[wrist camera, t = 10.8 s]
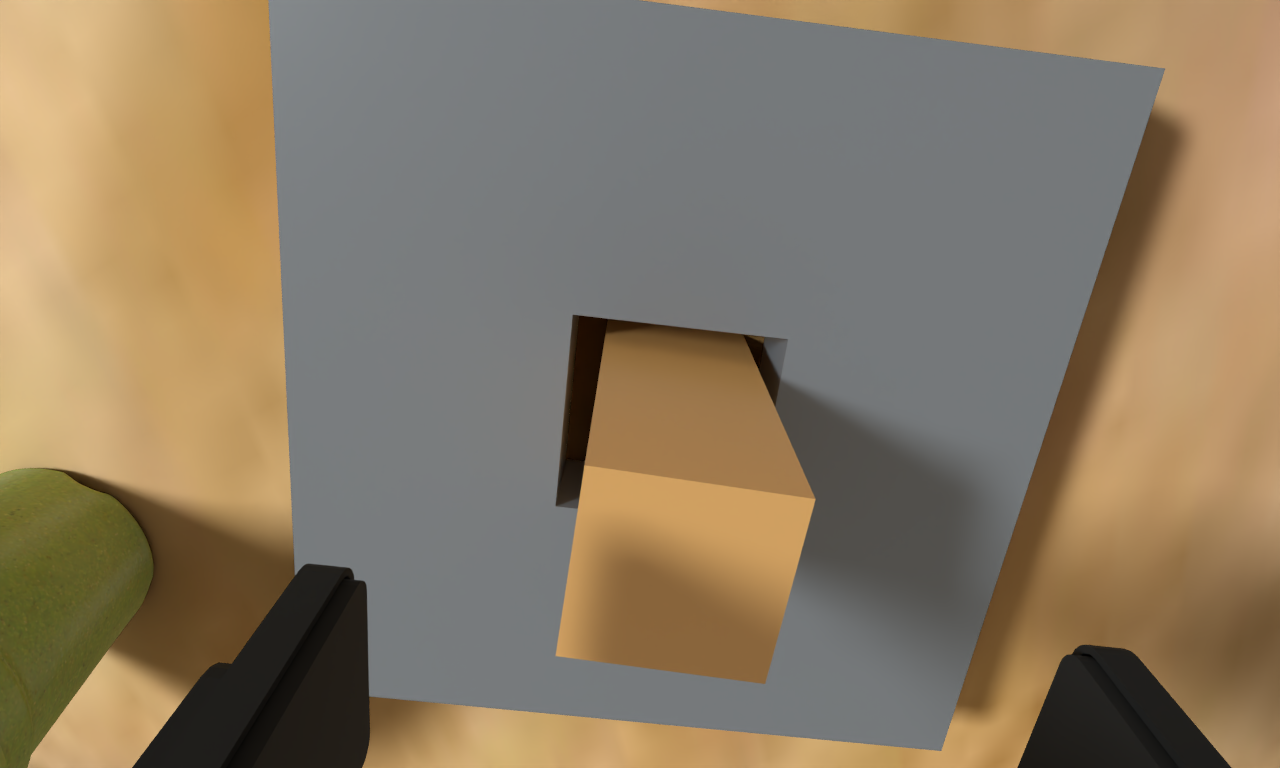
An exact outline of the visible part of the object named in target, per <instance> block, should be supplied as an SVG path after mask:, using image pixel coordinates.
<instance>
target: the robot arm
mask: <svg viewBox="0 0 1280 768" xmlns="http://www.w3.org/2000/svg"><path fill="white" fill-rule="evenodd" d="M369 738H370V716H369V666H368V615H367V586H366V583H365V581H361V580H354V574H353V571H352V569H350V568H347V567H337V566H328V565H318V564H309V563H308V564H305V565H304V566H303V567H302V568H301V569H300V570H299V571H298V573H297V574H296V575H295V577H294V578H293V580H292V581H291V582H290V584H289V585H288V586H287V588H286V589H285V591H284V592H283V593H282V595H281V596H280V598H279V599H278V600H277V602H276V603H275V605H274V606H273V607H272V609H271V610H270V612H269V613H268V614H267V616H266V617H265V618H264V620H263V621H262V623H261V624H260V625H259V627H258V628H257V630H256V631H255V632H254V634H253V635H252V637H251V638H250V639H249V641H248V642H247V643H246V645H245V646H244V648H243V649H242V650H241V652H240V653H239V655H238V656H237V657H236V659H235V660H234V662H233V663H232V664H228V663H217V664H215V665H213V666H211V667H210V668H209V669H208V670H207V671H206V672H205V673H204V674H203V675H202V676H201V677H200V679H199V680H198V681H197V683H196V684H195V685H194V687H193V688H192V689H191V691H190V692H189V693H188V695H187V696H186V697H185V699H184V700H183V701H182V702H181V704H180V705H179V706H178V708H177V709H176V710H175V712H174V713H173V714H172V716H171V717H170V718H169V720H168V721H167V722H166V724H165V725H164V726H163V728H162V729H161V730H160V732H159V733H158V734H157V736H156V737H155V738H154V740H153V741H152V742H151V743H150V745H149V746H148V747H147V749H146V750H145V751H144V753H143V754H142V755H141V757H140V758H139V759H138V761H137V762H136V763H135V765H134V766H133V767H132V768H362V767H363V764H364V761H365V758H366V754H367V750H368V746H369ZM1018 768H1231V767H1230V765H1229V764H1228V763H1227V762H1226V761H1225V760H1224V758H1223V757H1222V756H1221V755H1220V754H1219V752H1218V751H1217V750H1216V749H1215V748H1214V747H1213V745H1212V744H1211V743H1210V742H1209V741H1208V739H1207V738H1206V737H1205V736H1204V735H1203V734H1202V732H1201V731H1200V730H1199V729H1198V728H1197V726H1196V725H1195V724H1194V723H1193V722H1192V721H1191V719H1190V718H1189V717H1188V716H1187V715H1186V713H1185V712H1184V711H1183V710H1182V709H1181V708H1180V706H1179V705H1178V704H1177V703H1176V702H1175V701H1174V699H1173V698H1172V697H1171V696H1170V695H1169V693H1168V692H1167V691H1166V690H1165V689H1164V688H1163V686H1162V685H1161V684H1160V683H1159V682H1158V680H1157V679H1156V678H1155V677H1154V676H1153V675H1152V673H1151V672H1150V671H1149V670H1148V669H1147V667H1146V666H1145V665H1144V664H1143V663H1142V662H1141V660H1140V659H1139V658H1138V657H1137V656H1136V655H1135V654H1134V653H1133V652H1131V651H1129V650H1126V649H1121V648H1112V647H1102V646H1093V645H1081V646H1079V647H1078V648H1076V649H1075V650H1074V652H1073V654H1071V655H1066V656H1065V657H1064V658H1063V659H1062V661H1061V662H1060V665H1059V667H1058V670H1057V672H1056V675H1055V677H1054V680H1053V682H1052V684H1051V687H1050V689H1049V692H1048V694H1047V697H1046V699H1045V702H1044V704H1043V707H1042V709H1041V711H1040V714H1039V716H1038V719H1037V721H1036V724H1035V726H1034V729H1033V731H1032V734H1031V736H1030V738H1029V741H1028V743H1027V746H1026V748H1025V751H1024V753H1023V756H1022V758H1021V761H1020V763H1019V766H1018Z"/></svg>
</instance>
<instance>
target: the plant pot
mask: <svg viewBox="0 0 1280 768" xmlns="http://www.w3.org/2000/svg"><path fill="white" fill-rule="evenodd" d="M153 571H154V568H153V559H152V554H151V550H150V547H149V544H148V542H147V539H146V537H145V535H144V533H143V531H142V529H141V528H140V526H139V525H138V523H137V522H136V520H135V519H134V518H133V516H132V515H131V514H130V513H129V512H128V510H127V509H126V508H125V507H124V506H123V505H122V504H121V503H120V502H119V501H117V500H116V499H115V498H114V497H112V496H111V495H108V494H106V493H101V492H98V491H96V490H93V489H90V488H88V487H86V486H84V485H81V484H79V483H78V482H76V481H75V480H73V479H72V478H71V477H69V476H68V475H67V474H66V473H63V472H60V471H55V470H50V469H40V468H27V469H16V470H12V471H8V472H4V473H2V474H0V768H27V767H28V764H29V761H30V757H31V754H32V753H33V752H34V750H35V749H36V747H37V746H38V745H39V743H40V742H41V741H42V739H43V738H44V737H45V735H46V734H47V732H48V731H49V730H50V728H51V727H52V726H53V724H54V723H55V722H56V720H57V719H58V717H59V716H60V715H61V713H62V712H63V711H64V709H65V708H66V707H67V705H68V704H69V702H70V701H71V700H72V698H73V697H74V696H75V694H76V693H77V692H78V690H79V689H80V687H81V686H82V685H83V683H84V682H85V681H86V679H87V678H88V677H89V675H90V674H91V672H92V671H93V670H94V668H95V667H96V666H97V664H98V663H99V662H100V660H101V659H102V657H103V656H104V655H105V653H106V652H107V651H108V649H109V648H110V647H111V645H112V644H113V642H114V641H115V640H116V638H117V637H118V636H119V634H120V633H121V632H122V631H123V629H124V628H125V627H126V625H127V624H128V623H129V621H130V620H131V619H132V617H133V616H134V615H135V613H136V612H137V611H138V610H139V608H140V607H141V605H142V603H143V601H144V599H145V596H146V594H147V591H148V589H149V586H150V583H151V580H152V577H153Z"/></svg>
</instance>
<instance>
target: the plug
mask: <svg viewBox="0 0 1280 768" xmlns="http://www.w3.org/2000/svg"><path fill="white" fill-rule="evenodd" d="M815 500H816V499H815V497H814V494H813V492H812V490H811V488H810V485H809V483H808V481H807V479H806V476H805V474H804V472H803V469H802V467H801V465H800V463H799V460H798V458H797V456H796V454H795V451H794V449H793V447H792V445H791V442H790V440H789V438H788V435H787V433H786V431H785V429H784V426H783V424H782V422H781V420H780V417H779V415H778V413H777V411H776V408H775V406H774V404H773V401H772V399H771V397H770V395H769V392H768V390H767V388H766V386H765V383H764V381H763V379H762V377H761V374H760V372H759V370H758V367H757V365H756V363H755V361H754V358H753V356H752V354H751V352H750V349H749V347H748V345H747V343H746V340H745V338H744V336H743V334H737V333H729V332H720V331H711V330H703V329H694V328H685V327H676V326H668V325H659V324H650V323H642V322H633V321H624V320H615V319H608V322H607V328H606V335H605V341H604V347H603V353H602V360H601V366H600V372H599V378H598V384H597V391H596V397H595V403H594V409H593V416H592V422H591V428H590V434H589V441H588V447H587V453H586V459H585V465H584V472H583V479H582V485H581V492H580V498H579V505H578V512H577V518H576V525H575V531H574V538H573V544H572V551H571V558H570V564H569V571H568V577H567V584H566V590H565V597H564V604H563V610H562V617H561V623H560V630H559V637H558V643H557V650H556V656H559V657H566V658H574V659H581V660H589V661H596V662H604V663H611V664H619V665H626V666H634V667H641V668H649V669H656V670H664V671H671V672H679V673H686V674H694V675H701V676H709V677H716V678H724V679H731V680H739V681H746V682H754V683H761V684H765V683H766V679H767V676H768V672H769V668H770V665H771V661H772V657H773V654H774V650H775V646H776V643H777V639H778V635H779V632H780V628H781V624H782V621H783V617H784V613H785V610H786V606H787V602H788V599H789V595H790V591H791V588H792V584H793V580H794V577H795V573H796V569H797V566H798V562H799V558H800V555H801V551H802V547H803V544H804V540H805V536H806V533H807V529H808V525H809V522H810V518H811V514H812V511H813V507H814V503H815Z"/></svg>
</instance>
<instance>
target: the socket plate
mask: <svg viewBox="0 0 1280 768" xmlns="http://www.w3.org/2000/svg"><path fill="white" fill-rule="evenodd" d="M269 20H270V42H271V64H272V86H273V107H274V129H275V151H276V173H277V195H278V216H279V238H280V260H281V282H282V303H283V325H284V347H285V369H286V391H287V412H288V434H289V456H290V478H291V500H292V521H293V543H294V565H295V575H296V574H297V573H298V571H299V570H300V569H301V568H302V567H303V566H304V565H305V564H308V563H309V564H318V565H328V566H337V567H347V568H350V569H352V571H353V574H354V580H361V581H365V583H366V586H367V615H368V666H369V696H370V697H381V698H391V699H402V700H412V701H423V702H433V703H444V704H454V705H465V706H475V707H486V708H496V709H507V710H517V711H528V712H538V713H549V714H559V715H570V716H580V717H591V718H601V719H612V720H622V721H633V722H643V723H654V724H664V725H675V726H685V727H696V728H706V729H717V730H727V731H738V732H748V733H759V734H769V735H780V736H790V737H801V738H811V739H822V740H832V741H843V742H853V743H864V744H874V745H885V746H895V747H906V748H916V749H927V750H937V751H941V750H942V747H943V744H944V741H945V738H946V734H947V731H948V728H949V725H950V722H951V719H952V716H953V713H954V710H955V707H956V704H957V701H958V698H959V695H960V692H961V689H962V686H963V683H964V680H965V677H966V674H967V671H968V667H969V664H970V661H971V658H972V655H973V652H974V649H975V646H976V643H977V640H978V637H979V634H980V631H981V628H982V625H983V622H984V619H985V616H986V613H987V610H988V607H989V604H990V600H991V597H992V594H993V591H994V588H995V585H996V582H997V579H998V576H999V573H1000V570H1001V567H1002V564H1003V561H1004V558H1005V555H1006V552H1007V549H1008V546H1009V543H1010V540H1011V536H1012V533H1013V530H1014V527H1015V524H1016V521H1017V518H1018V515H1019V512H1020V509H1021V506H1022V503H1023V500H1024V497H1025V494H1026V491H1027V488H1028V485H1029V482H1030V479H1031V476H1032V473H1033V469H1034V466H1035V463H1036V460H1037V457H1038V454H1039V451H1040V448H1041V445H1042V442H1043V439H1044V436H1045V433H1046V430H1047V427H1048V424H1049V421H1050V418H1051V415H1052V412H1053V409H1054V406H1055V402H1056V399H1057V396H1058V393H1059V390H1060V387H1061V384H1062V381H1063V378H1064V375H1065V372H1066V369H1067V366H1068V363H1069V360H1070V357H1071V354H1072V351H1073V348H1074V345H1075V342H1076V339H1077V335H1078V332H1079V329H1080V326H1081V323H1082V320H1083V317H1084V314H1085V311H1086V308H1087V305H1088V302H1089V299H1090V296H1091V293H1092V290H1093V287H1094V284H1095V281H1096V278H1097V275H1098V271H1099V268H1100V265H1101V262H1102V259H1103V256H1104V253H1105V250H1106V247H1107V244H1108V241H1109V238H1110V235H1111V232H1112V229H1113V226H1114V223H1115V220H1116V217H1117V214H1118V211H1119V208H1120V204H1121V201H1122V198H1123V195H1124V192H1125V189H1126V186H1127V183H1128V180H1129V177H1130V174H1131V171H1132V168H1133V165H1134V162H1135V159H1136V156H1137V153H1138V150H1139V147H1140V144H1141V141H1142V137H1143V134H1144V131H1145V128H1146V125H1147V122H1148V119H1149V116H1150V113H1151V110H1152V107H1153V104H1154V101H1155V98H1156V95H1157V92H1158V89H1159V86H1160V83H1161V80H1162V77H1163V74H1164V70H1165V69H1164V68H1156V67H1148V66H1141V65H1133V64H1125V63H1118V62H1110V61H1102V60H1094V59H1087V58H1079V57H1071V56H1064V55H1056V54H1048V53H1041V52H1033V51H1025V50H1017V49H1010V48H1002V47H994V46H987V45H979V44H971V43H964V42H956V41H948V40H940V39H933V38H925V37H917V36H910V35H902V34H894V33H887V32H879V31H871V30H864V29H856V28H848V27H840V26H833V25H825V24H817V23H810V22H802V21H794V20H787V19H779V18H771V17H763V16H756V15H748V14H740V13H733V12H725V11H717V10H710V9H702V8H694V7H686V6H679V5H671V4H663V3H656V2H648V1H640V0H269ZM579 315H580V316H589V317H598V318H607V319H615V320H624V321H633V322H642V323H650V324H659V325H668V326H676V327H685V328H694V329H703V330H711V331H720V332H729V333H738V334H746V335H755V336H764V337H765V339H764V345H763V350H762V356H761V361H760V367H759V372H760V374H761V377H762V379H763V381H764V383H765V386H766V388H767V390H768V392H769V395H770V397H771V399H772V401H773V404H774V406H775V408H776V411H777V413H778V415H779V417H780V420H781V422H782V424H783V426H784V429H785V431H786V433H787V435H788V438H789V440H790V442H791V445H792V447H793V449H794V451H795V454H796V456H797V458H798V460H799V463H800V465H801V467H802V469H803V472H804V474H805V476H806V479H807V481H808V483H809V485H810V488H811V490H812V492H813V494H814V497H815V499H816V500H815V503H814V507H813V511H812V514H811V518H810V522H809V525H808V529H807V533H806V536H805V540H804V544H803V547H802V551H801V555H800V558H799V562H798V566H797V569H796V573H795V577H794V580H793V584H792V588H791V591H790V595H789V599H788V602H787V606H786V610H785V613H784V617H783V621H782V624H781V628H780V632H779V635H778V639H777V643H776V646H775V650H774V654H773V657H772V661H771V665H770V668H769V672H768V676H767V679H766V683H765V684H761V683H754V682H746V681H739V680H731V679H724V678H716V677H709V676H701V675H694V674H686V673H679V672H671V671H664V670H656V669H649V668H641V667H634V666H626V665H619V664H611V663H604V662H596V661H589V660H581V659H574V658H566V657H559V656H556V650H557V643H558V637H559V630H560V623H561V617H562V610H563V604H564V597H565V590H566V584H567V577H568V571H569V564H570V558H571V551H572V544H573V538H574V531H575V525H576V518H577V512H578V505H579V498H580V492H581V485H582V479H583V472H584V465H585V461H579V460H570V459H566V453H567V442H568V431H569V420H570V410H571V399H572V388H573V377H574V366H575V355H576V345H577V334H578V323H579Z"/></svg>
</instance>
